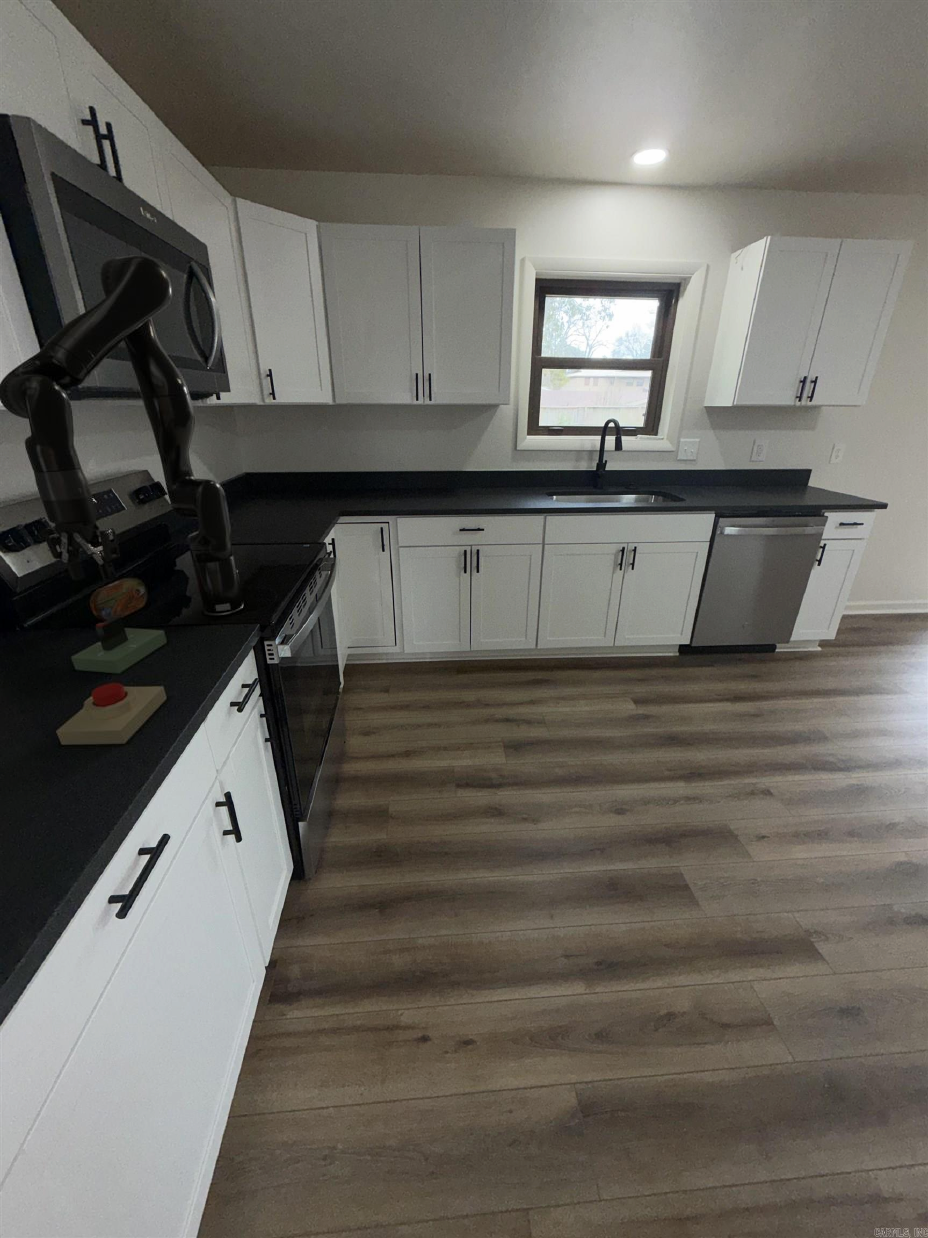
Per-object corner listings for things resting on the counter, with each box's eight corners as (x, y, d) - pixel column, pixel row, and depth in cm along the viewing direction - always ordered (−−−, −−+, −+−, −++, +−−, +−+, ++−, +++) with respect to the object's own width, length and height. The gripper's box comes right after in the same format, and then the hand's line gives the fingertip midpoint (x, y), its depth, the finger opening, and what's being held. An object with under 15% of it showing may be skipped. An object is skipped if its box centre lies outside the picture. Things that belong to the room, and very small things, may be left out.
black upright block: (121, 639, 107) (113, 615, 104) (128, 639, 106) (120, 615, 104) (103, 650, 102) (94, 625, 100) (109, 650, 102) (101, 625, 100)
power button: (106, 693, 85) (102, 683, 85) (131, 692, 86) (128, 682, 85) (88, 707, 81) (85, 697, 81) (116, 707, 82) (112, 696, 81)
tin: (104, 626, 120) (93, 594, 116) (93, 625, 120) (82, 593, 117) (152, 603, 133) (143, 573, 130) (142, 602, 134) (133, 572, 130)
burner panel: (127, 639, 113) (123, 627, 112) (167, 642, 112) (163, 629, 111) (75, 670, 101) (70, 656, 100) (119, 673, 99) (114, 659, 98)
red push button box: (112, 699, 91) (104, 678, 89) (167, 698, 91) (160, 677, 89) (61, 745, 79) (51, 721, 77) (124, 743, 79) (116, 720, 77)
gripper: (116, 492, 94) (140, 575, 101) (50, 490, 96) (78, 572, 103) (83, 499, 87) (111, 588, 94) (13, 497, 89) (45, 584, 96)
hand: (94, 579), depth 98 cm, fingers open, 6 cm apart
